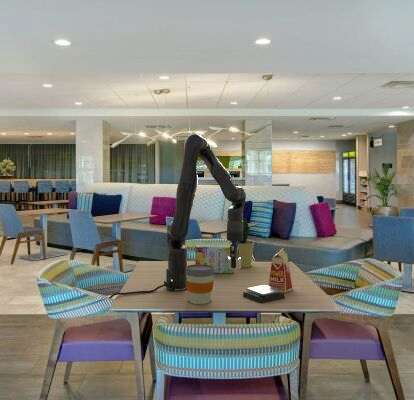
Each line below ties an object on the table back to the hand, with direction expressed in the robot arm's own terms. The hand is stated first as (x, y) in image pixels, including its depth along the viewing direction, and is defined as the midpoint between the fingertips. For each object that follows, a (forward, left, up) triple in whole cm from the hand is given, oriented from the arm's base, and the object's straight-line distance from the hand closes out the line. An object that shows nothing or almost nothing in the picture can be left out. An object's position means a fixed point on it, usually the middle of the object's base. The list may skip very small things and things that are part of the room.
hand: (234, 266), depth 187 cm
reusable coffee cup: (-19, 0, -13) cm, 23 cm away
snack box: (+18, +42, -13) cm, 47 cm away
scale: (+9, -10, -13) cm, 19 cm away
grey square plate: (+9, -10, -10) cm, 17 cm away
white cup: (0, 0, -1) cm, 1 cm away
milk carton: (+24, -5, -13) cm, 28 cm away
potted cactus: (+43, +48, -13) cm, 66 cm away
